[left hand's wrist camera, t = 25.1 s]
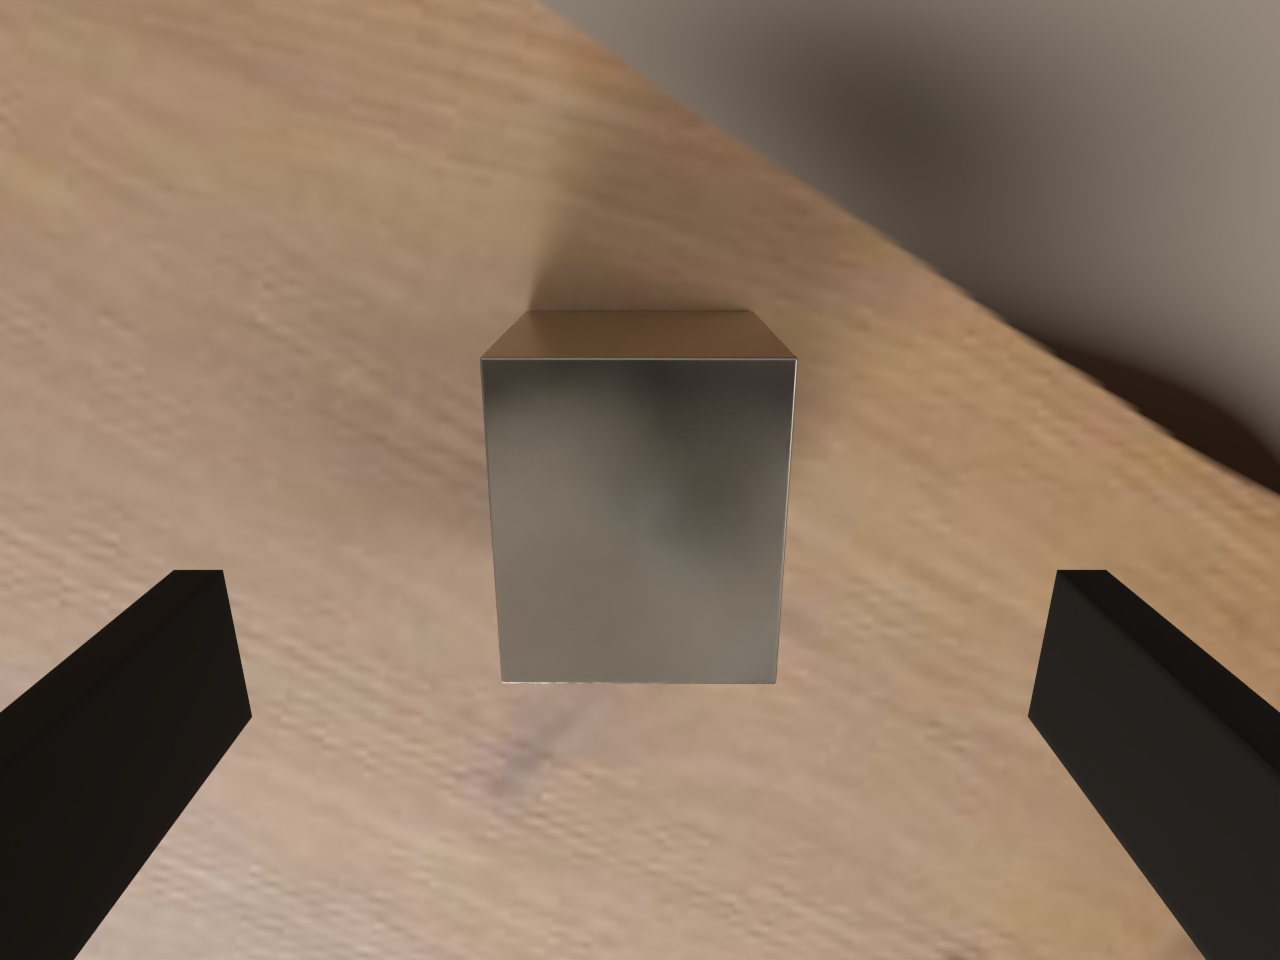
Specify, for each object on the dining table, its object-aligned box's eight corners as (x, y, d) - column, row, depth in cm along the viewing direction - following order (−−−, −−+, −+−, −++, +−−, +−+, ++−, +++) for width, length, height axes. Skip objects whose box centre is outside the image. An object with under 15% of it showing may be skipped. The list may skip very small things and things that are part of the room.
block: (525, 310, 23) (479, 357, 16) (753, 310, 23) (798, 357, 16) (537, 558, 26) (501, 684, 19) (741, 558, 26) (776, 684, 19)
